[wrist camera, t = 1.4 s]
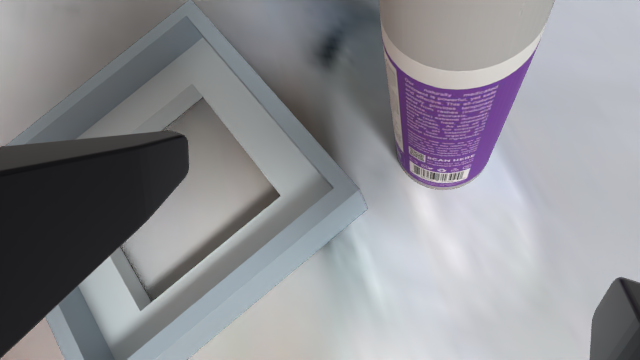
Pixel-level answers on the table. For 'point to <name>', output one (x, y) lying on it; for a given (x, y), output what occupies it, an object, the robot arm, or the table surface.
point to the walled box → (240, 249)
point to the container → (455, 79)
